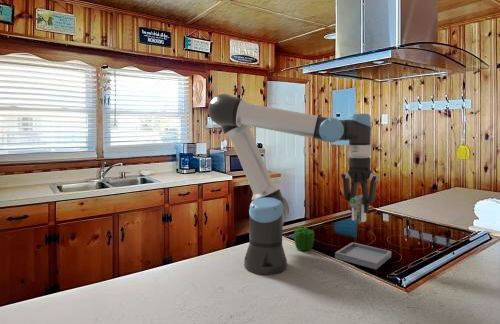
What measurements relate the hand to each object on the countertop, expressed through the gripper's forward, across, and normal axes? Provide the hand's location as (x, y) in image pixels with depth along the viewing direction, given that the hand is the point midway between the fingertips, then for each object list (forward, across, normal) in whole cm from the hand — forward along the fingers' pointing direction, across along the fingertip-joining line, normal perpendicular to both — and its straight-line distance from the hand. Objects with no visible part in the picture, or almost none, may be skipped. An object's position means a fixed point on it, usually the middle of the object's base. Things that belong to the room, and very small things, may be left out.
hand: (359, 220), depth 121 cm
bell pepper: (+15, -22, -4) cm, 27 cm away
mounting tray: (+15, 0, +4) cm, 16 cm away
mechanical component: (+1, 0, 0) cm, 1 cm away
